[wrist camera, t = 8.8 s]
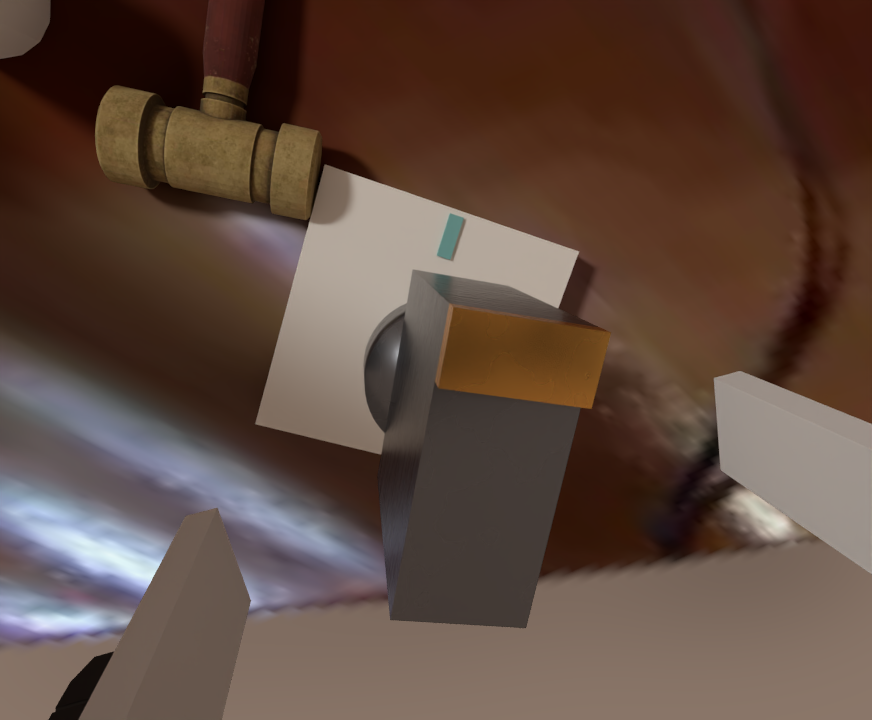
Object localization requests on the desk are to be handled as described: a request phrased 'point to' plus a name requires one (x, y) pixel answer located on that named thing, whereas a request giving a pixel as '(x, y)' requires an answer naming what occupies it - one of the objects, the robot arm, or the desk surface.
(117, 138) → the gavel
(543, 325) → the grey block orange cap
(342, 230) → the base
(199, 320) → the desk surface
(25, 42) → the shot glass
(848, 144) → the desk surface
